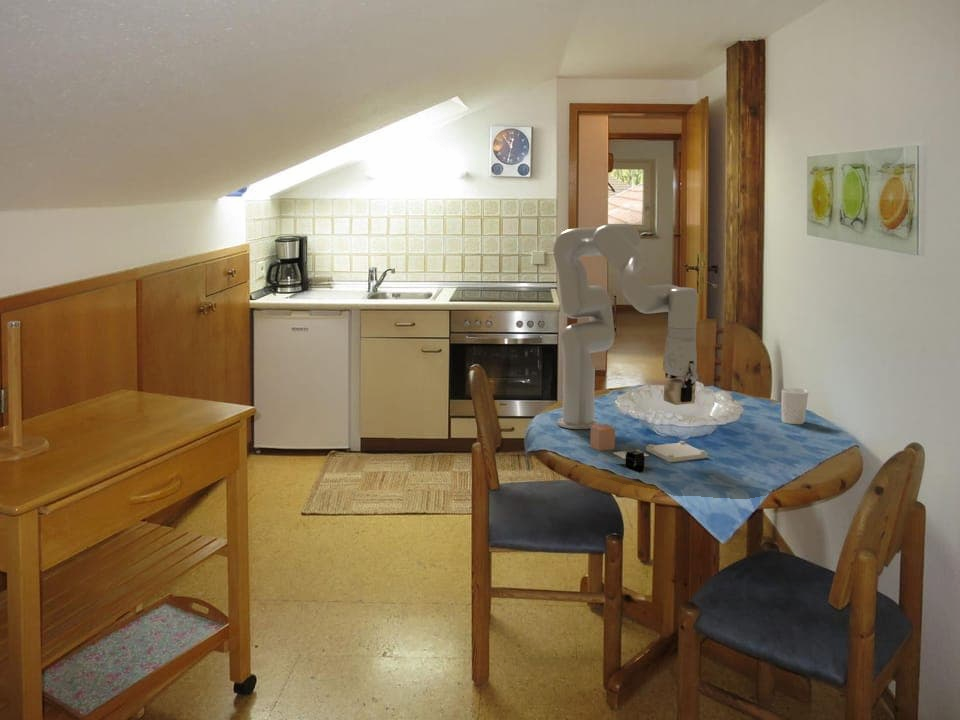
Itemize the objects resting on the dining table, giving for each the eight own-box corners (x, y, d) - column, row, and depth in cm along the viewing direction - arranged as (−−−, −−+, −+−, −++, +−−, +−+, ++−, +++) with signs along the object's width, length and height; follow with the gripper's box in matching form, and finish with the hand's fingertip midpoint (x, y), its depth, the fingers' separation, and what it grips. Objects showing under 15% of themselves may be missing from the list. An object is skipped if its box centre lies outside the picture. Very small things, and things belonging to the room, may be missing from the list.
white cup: (774, 419, 301) (776, 388, 299) (795, 418, 303) (798, 387, 301) (789, 425, 293) (791, 394, 291) (811, 424, 295) (813, 392, 294)
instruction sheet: (612, 453, 263) (612, 452, 263) (638, 450, 266) (638, 449, 266) (623, 458, 258) (623, 458, 257) (649, 455, 260) (649, 455, 260)
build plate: (646, 450, 266) (646, 444, 265) (682, 446, 270) (683, 440, 270) (669, 462, 255) (669, 456, 254) (707, 457, 259) (707, 451, 259)
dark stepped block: (608, 465, 254) (609, 448, 253) (628, 461, 258) (629, 444, 257) (641, 476, 244) (642, 459, 243) (662, 472, 248) (662, 454, 247)
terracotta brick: (590, 446, 270) (590, 425, 269) (605, 444, 272) (606, 424, 271) (598, 450, 265) (599, 430, 264) (614, 449, 267) (615, 428, 266)
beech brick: (663, 400, 261) (664, 378, 260) (682, 398, 263) (683, 377, 262) (675, 405, 256) (676, 383, 254) (694, 403, 258) (695, 381, 257)
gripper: (652, 329, 263) (650, 393, 266) (687, 339, 247) (685, 407, 250) (676, 328, 265) (673, 391, 269) (712, 337, 249) (709, 404, 253)
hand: (679, 398), depth 259 cm, fingers closed on beech brick, 6 cm apart
